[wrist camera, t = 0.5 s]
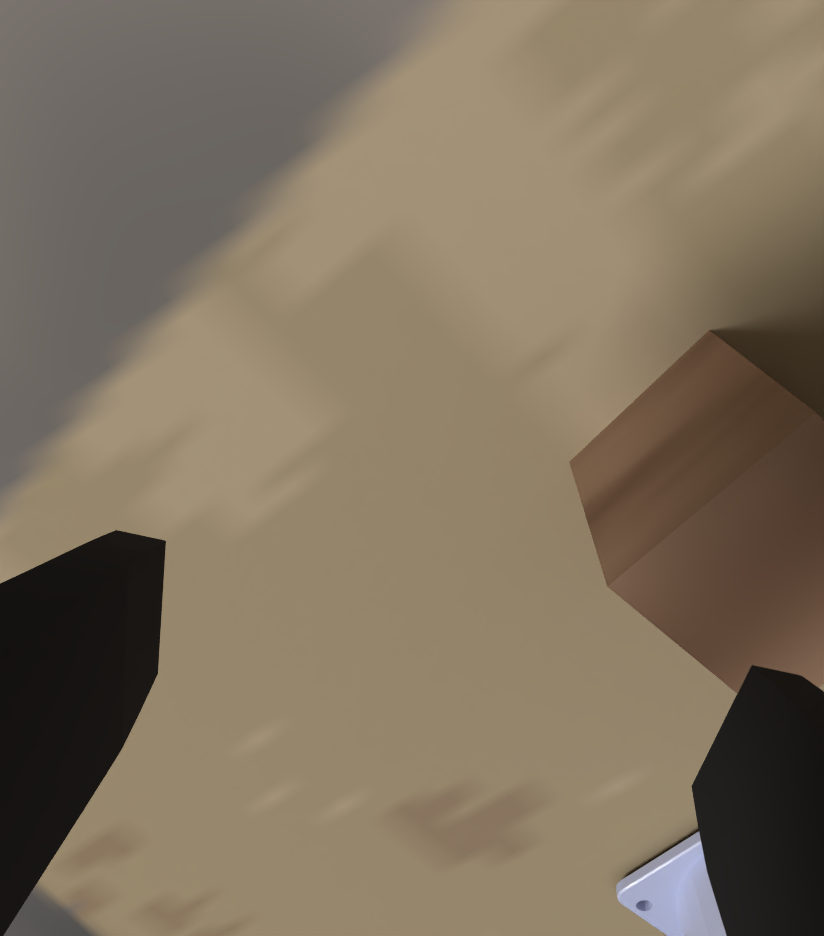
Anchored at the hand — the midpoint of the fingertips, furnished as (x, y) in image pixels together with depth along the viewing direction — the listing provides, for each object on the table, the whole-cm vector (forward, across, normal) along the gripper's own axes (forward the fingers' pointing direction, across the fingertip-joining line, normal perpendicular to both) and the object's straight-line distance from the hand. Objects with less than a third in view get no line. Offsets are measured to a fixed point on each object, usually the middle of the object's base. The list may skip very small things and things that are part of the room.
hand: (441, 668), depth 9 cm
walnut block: (+10, -6, 0) cm, 11 cm away
